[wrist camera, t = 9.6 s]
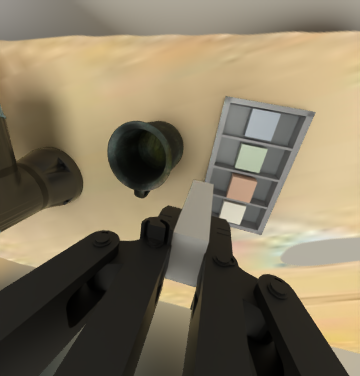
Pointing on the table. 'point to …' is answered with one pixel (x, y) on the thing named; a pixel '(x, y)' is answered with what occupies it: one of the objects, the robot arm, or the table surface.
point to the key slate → (261, 124)
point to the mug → (144, 154)
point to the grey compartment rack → (272, 165)
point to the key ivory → (232, 211)
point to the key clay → (241, 187)
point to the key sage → (250, 157)
